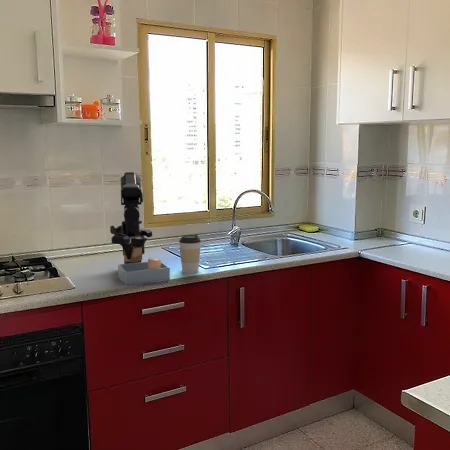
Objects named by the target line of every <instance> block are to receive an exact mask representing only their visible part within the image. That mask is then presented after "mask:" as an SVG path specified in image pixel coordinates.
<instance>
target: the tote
mask: <svg viewBox="0 0 450 450" xmlns="http://www.w3.org/2000/svg"><path fill="white" fill-rule="evenodd" d="M117 271H118V272H117V274H118V278H119V280H121V281H122V282H123V284H124V285H126V286H130V285H131V286H132V285H138V284H141V285H142V284H147V283H157V282H166V281H171V267H170V266H168V265H167V264H166V263H164V262H163V261H161V268H158V269H148V261H141V262H139V263H129V264H124V263H121V264H120V263H119V264H117Z"/></svg>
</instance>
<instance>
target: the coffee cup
mask: <svg viewBox="0 0 450 450" xmlns="http://www.w3.org/2000/svg"><path fill="white" fill-rule="evenodd" d="M178 242H179V254H180V255H179V257H180V261H181V262H180V263H181V271H182V272H183V273H187V274H189V273H190V274H194V273H198V272H199V267H200V257H201V256H200V255H201V243H202V241H201V238H200V237H199V235H198V234H186V235H182V236H181V237H180V238H179V241H178Z"/></svg>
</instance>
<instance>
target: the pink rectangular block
mask: <svg viewBox="0 0 450 450" xmlns="http://www.w3.org/2000/svg"><path fill="white" fill-rule="evenodd" d="M147 262H148V269H158V268H161V262H162V259H161V258H157V257H154V258H153V257H151V258H150V257H149V258H148V259H147Z"/></svg>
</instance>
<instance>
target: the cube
mask: <svg viewBox="0 0 450 450" xmlns="http://www.w3.org/2000/svg"><path fill="white" fill-rule="evenodd" d="M140 260H141V261H142V260H143V255H142V247H134V246H133V249H132V254H131V258H130V259H127V256H126V254H125V251H124V255H123V262H124V261H127V262H137V261H140Z"/></svg>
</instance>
